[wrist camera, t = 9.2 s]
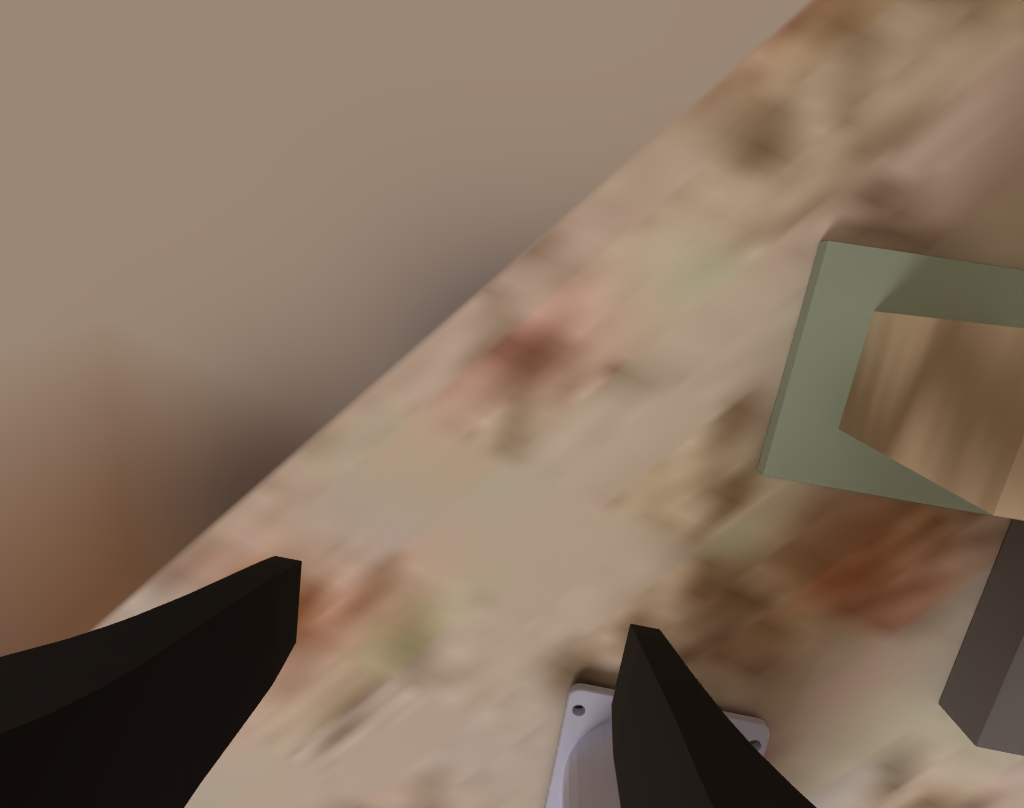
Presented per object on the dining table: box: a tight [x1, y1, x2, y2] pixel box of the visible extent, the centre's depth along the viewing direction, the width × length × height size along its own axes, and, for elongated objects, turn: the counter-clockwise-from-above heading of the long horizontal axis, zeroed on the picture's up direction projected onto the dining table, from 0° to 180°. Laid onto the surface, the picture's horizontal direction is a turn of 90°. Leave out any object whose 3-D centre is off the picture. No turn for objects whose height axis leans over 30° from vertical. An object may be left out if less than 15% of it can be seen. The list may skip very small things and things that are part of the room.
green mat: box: [757, 241, 1024, 517], centre depth 19 cm, size 8×8×1 cm
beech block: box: [838, 311, 1024, 521], centre depth 15 cm, size 4×4×7 cm
